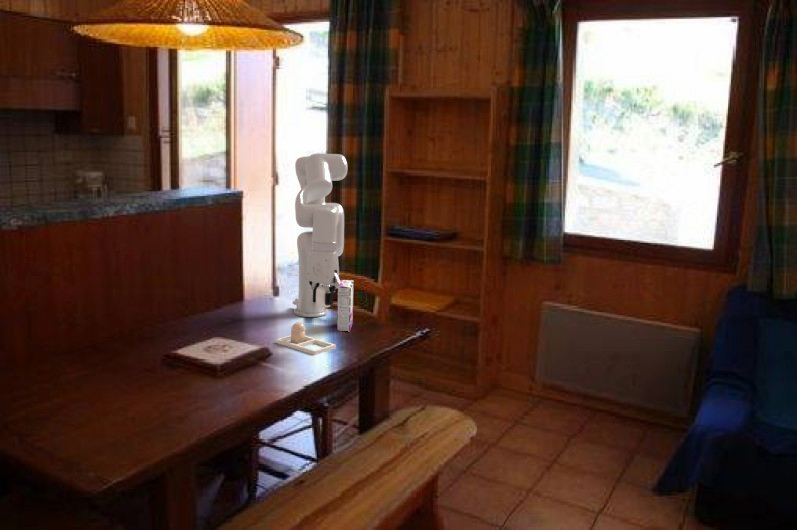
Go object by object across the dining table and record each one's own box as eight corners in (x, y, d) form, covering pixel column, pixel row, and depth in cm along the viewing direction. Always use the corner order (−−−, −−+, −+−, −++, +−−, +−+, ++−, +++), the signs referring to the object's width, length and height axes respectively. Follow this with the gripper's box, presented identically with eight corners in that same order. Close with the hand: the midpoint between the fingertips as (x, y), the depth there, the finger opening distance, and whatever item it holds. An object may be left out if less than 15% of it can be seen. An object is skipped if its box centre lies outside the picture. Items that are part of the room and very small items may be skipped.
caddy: (276, 345, 235) (276, 339, 235) (297, 339, 243) (297, 333, 243) (314, 357, 225) (315, 351, 225) (335, 350, 232) (335, 344, 232)
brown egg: (287, 343, 235) (289, 322, 234) (294, 340, 239) (295, 320, 238) (300, 345, 234) (302, 325, 233) (306, 342, 238) (308, 322, 237)
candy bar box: (339, 323, 264) (340, 279, 261) (352, 323, 264) (354, 280, 261) (335, 331, 253) (337, 286, 250) (350, 332, 253) (351, 287, 250)
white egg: (312, 305, 230) (313, 284, 228) (322, 303, 233) (322, 282, 232) (323, 308, 227) (323, 286, 226) (333, 305, 231) (333, 284, 229)
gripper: (296, 244, 228) (295, 300, 232) (336, 252, 219) (334, 310, 222) (312, 242, 234) (311, 296, 238) (352, 249, 225) (350, 306, 228)
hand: (322, 302), depth 230 cm, fingers closed on white egg, 4 cm apart
